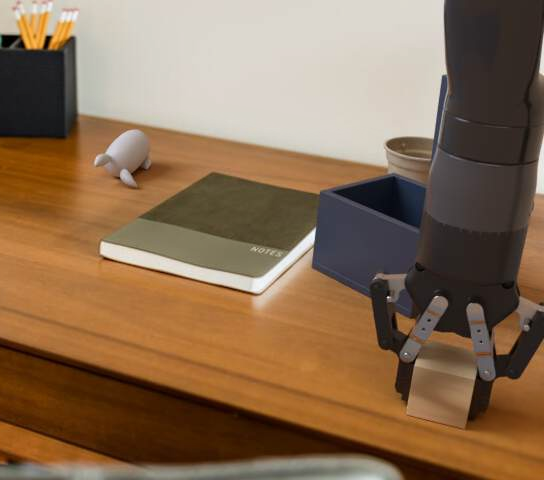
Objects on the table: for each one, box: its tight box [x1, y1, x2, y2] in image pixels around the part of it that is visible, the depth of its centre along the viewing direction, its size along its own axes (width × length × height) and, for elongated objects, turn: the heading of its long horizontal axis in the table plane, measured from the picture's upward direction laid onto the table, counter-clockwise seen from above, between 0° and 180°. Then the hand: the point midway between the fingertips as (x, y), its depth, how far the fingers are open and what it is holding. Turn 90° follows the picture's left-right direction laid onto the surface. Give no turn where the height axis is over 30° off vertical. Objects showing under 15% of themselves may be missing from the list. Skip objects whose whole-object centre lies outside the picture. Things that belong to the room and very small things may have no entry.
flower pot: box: [383, 135, 434, 185], centre depth 111 cm, size 9×9×9 cm
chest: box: [311, 173, 427, 319], centre depth 93 cm, size 14×12×9 cm
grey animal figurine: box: [93, 129, 152, 188], centre depth 121 cm, size 6×5×12 cm
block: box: [405, 339, 478, 430], centre depth 72 cm, size 5×5×5 cm
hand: (439, 403), depth 73 cm, fingers closed on block, 4 cm apart
